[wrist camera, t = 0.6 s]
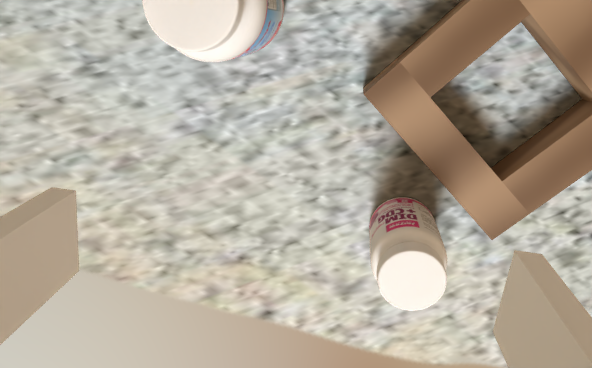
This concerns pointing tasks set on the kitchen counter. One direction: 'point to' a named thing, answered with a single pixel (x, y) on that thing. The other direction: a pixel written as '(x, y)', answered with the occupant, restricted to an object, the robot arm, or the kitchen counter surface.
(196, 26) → the pill bottle
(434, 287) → the pill bottle
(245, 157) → the kitchen counter surface
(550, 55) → the socket block
